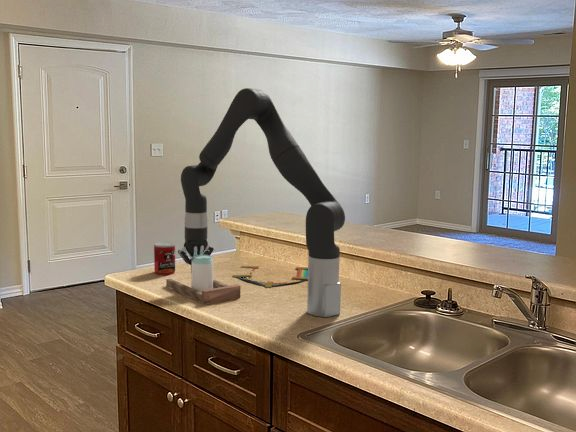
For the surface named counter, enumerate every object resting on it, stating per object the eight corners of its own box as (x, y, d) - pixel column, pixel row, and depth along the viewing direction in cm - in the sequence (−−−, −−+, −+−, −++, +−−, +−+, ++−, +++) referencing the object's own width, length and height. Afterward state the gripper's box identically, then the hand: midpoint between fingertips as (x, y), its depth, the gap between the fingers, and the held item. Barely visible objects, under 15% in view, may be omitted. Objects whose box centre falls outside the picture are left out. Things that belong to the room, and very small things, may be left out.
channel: (240, 297, 199) (240, 285, 198) (205, 304, 191) (205, 291, 190) (199, 280, 219) (199, 269, 218) (166, 286, 211) (166, 274, 210)
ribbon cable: (308, 290, 210) (314, 269, 239) (308, 287, 210) (314, 266, 239) (224, 288, 213) (240, 267, 242) (224, 285, 213) (240, 264, 242)
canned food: (158, 276, 225) (158, 246, 223) (151, 271, 232) (151, 242, 230) (178, 273, 229) (178, 244, 227) (171, 269, 235) (170, 241, 234)
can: (217, 291, 206) (217, 256, 204) (203, 296, 200) (203, 259, 198) (201, 287, 209) (201, 253, 207) (186, 292, 204) (187, 256, 202)
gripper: (183, 228, 198) (183, 281, 201) (219, 225, 206) (218, 275, 209) (172, 225, 204) (172, 276, 207) (207, 222, 212) (207, 271, 215)
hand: (195, 275), depth 208 cm, fingers closed
